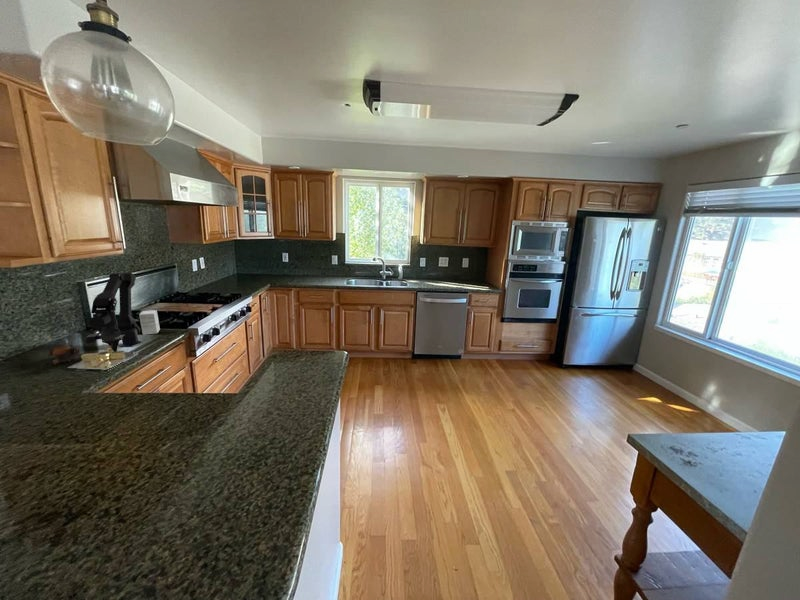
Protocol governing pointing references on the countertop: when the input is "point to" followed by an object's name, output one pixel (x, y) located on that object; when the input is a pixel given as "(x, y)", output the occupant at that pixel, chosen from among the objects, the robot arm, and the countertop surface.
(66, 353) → the brown clawed figurine
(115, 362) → the flange plate
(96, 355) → the brass cross latch
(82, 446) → the countertop surface
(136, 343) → the robot arm
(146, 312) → the supplement box
